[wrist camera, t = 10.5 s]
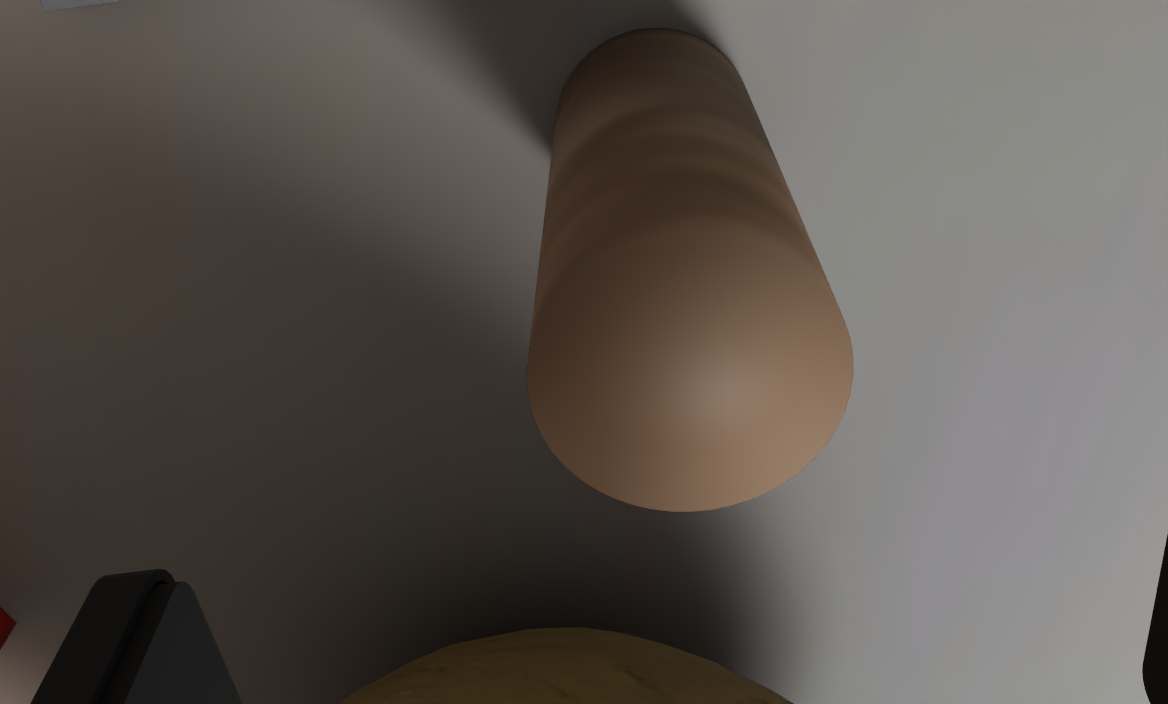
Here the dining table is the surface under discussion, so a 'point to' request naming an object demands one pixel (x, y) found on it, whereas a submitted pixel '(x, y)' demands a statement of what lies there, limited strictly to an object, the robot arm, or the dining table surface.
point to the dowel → (678, 288)
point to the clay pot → (562, 673)
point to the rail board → (70, 3)
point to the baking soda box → (5, 626)
